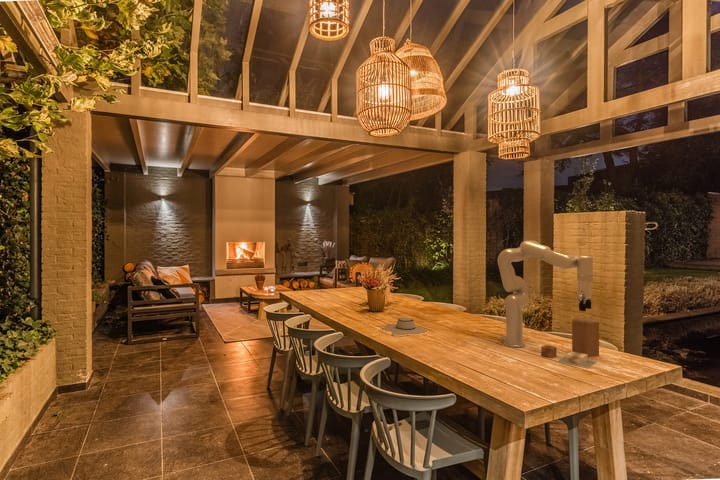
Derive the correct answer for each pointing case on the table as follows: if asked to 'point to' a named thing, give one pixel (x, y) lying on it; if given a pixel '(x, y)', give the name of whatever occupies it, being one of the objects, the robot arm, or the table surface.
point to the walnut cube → (548, 351)
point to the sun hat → (404, 327)
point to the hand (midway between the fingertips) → (585, 309)
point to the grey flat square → (586, 365)
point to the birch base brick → (577, 358)
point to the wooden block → (585, 336)
